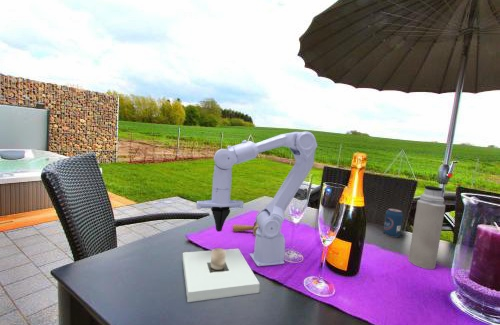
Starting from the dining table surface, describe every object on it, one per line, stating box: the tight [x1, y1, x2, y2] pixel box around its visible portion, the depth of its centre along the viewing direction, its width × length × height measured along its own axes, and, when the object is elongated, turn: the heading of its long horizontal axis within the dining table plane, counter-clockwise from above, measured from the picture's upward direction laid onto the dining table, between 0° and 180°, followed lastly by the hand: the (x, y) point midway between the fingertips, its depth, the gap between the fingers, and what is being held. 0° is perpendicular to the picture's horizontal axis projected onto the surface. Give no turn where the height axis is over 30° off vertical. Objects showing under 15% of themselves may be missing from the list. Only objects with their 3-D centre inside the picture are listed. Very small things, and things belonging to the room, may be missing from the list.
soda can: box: [383, 207, 404, 238], centre depth 114 cm, size 7×7×12 cm
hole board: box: [182, 248, 261, 303], centre depth 70 cm, size 18×20×2 cm
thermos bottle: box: [408, 185, 446, 270], centre depth 87 cm, size 8×8×28 cm
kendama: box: [232, 220, 258, 237], centre depth 103 cm, size 8×6×18 cm
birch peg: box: [209, 247, 226, 273], centre depth 70 cm, size 4×4×7 cm
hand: (218, 230), depth 77 cm, fingers closed
